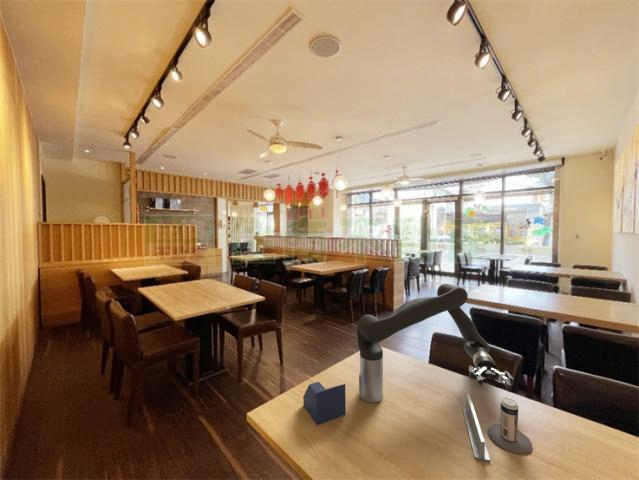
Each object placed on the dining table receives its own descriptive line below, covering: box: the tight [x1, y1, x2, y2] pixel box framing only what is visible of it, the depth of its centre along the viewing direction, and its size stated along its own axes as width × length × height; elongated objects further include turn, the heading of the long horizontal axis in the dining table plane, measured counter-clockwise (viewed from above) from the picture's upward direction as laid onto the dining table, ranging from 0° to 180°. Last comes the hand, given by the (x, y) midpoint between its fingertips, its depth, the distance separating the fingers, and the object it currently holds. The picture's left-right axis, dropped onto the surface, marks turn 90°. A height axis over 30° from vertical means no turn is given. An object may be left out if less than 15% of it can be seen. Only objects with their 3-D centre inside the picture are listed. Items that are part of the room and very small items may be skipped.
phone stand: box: [302, 381, 347, 426], centre depth 105 cm, size 12×12×12 cm
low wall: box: [461, 393, 491, 464], centre depth 93 cm, size 4×24×6 cm, turn 161°
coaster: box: [486, 423, 533, 455], centre depth 90 cm, size 12×12×1 cm
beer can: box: [499, 397, 519, 441], centre depth 90 cm, size 5×5×12 cm
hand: (494, 385), depth 101 cm, fingers open, 8 cm apart
